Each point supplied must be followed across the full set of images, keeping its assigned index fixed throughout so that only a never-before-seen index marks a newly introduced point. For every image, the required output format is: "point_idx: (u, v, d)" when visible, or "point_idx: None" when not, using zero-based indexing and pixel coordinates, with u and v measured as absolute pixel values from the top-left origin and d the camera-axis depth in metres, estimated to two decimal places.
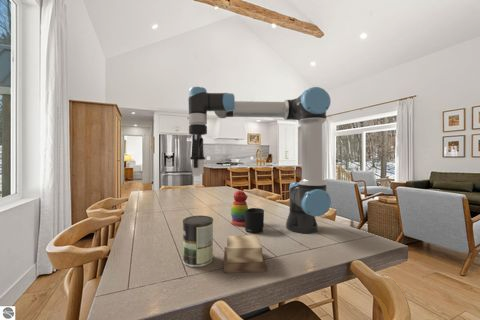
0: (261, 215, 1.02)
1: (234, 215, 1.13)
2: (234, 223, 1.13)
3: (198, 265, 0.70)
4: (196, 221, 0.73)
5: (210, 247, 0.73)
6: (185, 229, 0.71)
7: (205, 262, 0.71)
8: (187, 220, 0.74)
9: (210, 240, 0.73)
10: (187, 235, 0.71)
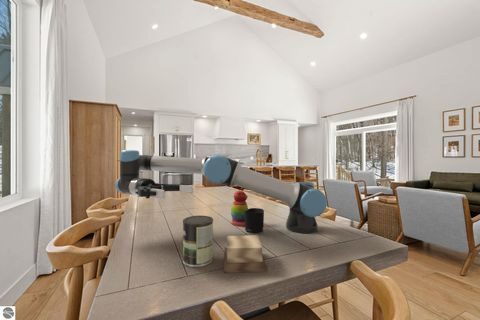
0: (261, 215, 1.02)
1: (234, 215, 1.13)
2: (234, 223, 1.13)
3: (198, 265, 0.70)
4: (196, 221, 0.73)
5: (210, 247, 0.73)
6: (185, 229, 0.71)
7: (205, 262, 0.71)
8: (187, 220, 0.74)
9: (210, 240, 0.73)
10: (187, 235, 0.71)
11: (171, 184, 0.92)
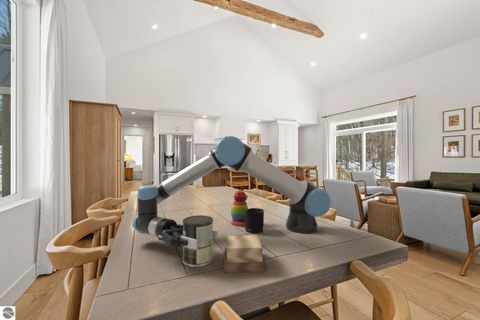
0: (261, 215, 1.02)
1: (234, 215, 1.13)
2: (234, 223, 1.13)
3: (198, 265, 0.70)
4: (196, 220, 0.73)
5: (210, 247, 0.73)
6: (185, 229, 0.71)
7: (205, 262, 0.71)
8: (187, 220, 0.74)
9: (210, 240, 0.73)
10: (187, 235, 0.71)
11: None
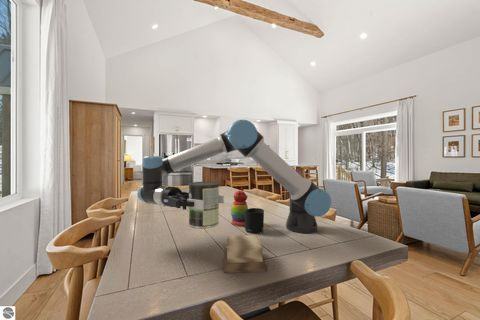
0: (261, 215, 1.02)
1: (234, 215, 1.13)
2: (234, 223, 1.13)
3: (204, 227, 0.69)
4: (202, 184, 0.73)
5: (216, 210, 0.72)
6: (191, 191, 0.71)
7: (211, 224, 0.71)
8: (193, 184, 0.74)
9: (216, 203, 0.72)
10: (193, 197, 0.70)
11: None
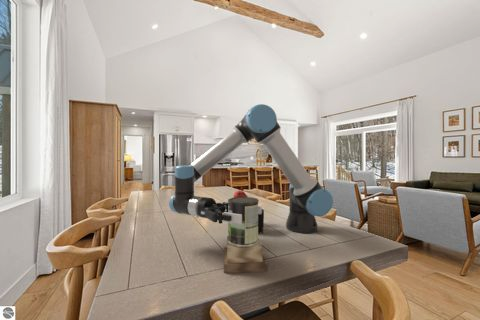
0: (261, 215, 1.02)
1: None
2: None
3: (246, 245, 0.68)
4: (242, 200, 0.72)
5: (257, 227, 0.71)
6: (233, 209, 0.69)
7: (253, 242, 0.69)
8: (232, 200, 0.72)
9: (257, 220, 0.71)
10: None
11: None
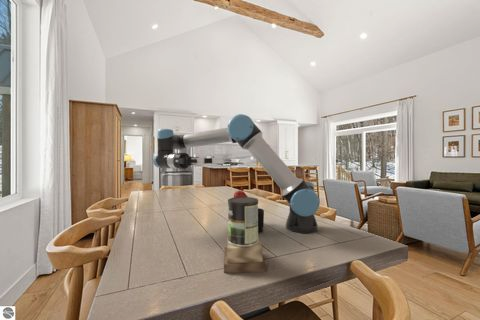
0: (261, 215, 1.02)
1: None
2: None
3: (246, 245, 0.68)
4: (242, 200, 0.72)
5: (257, 227, 0.71)
6: (232, 209, 0.69)
7: (253, 242, 0.69)
8: (232, 200, 0.72)
9: (257, 220, 0.71)
10: (234, 215, 0.69)
11: None
